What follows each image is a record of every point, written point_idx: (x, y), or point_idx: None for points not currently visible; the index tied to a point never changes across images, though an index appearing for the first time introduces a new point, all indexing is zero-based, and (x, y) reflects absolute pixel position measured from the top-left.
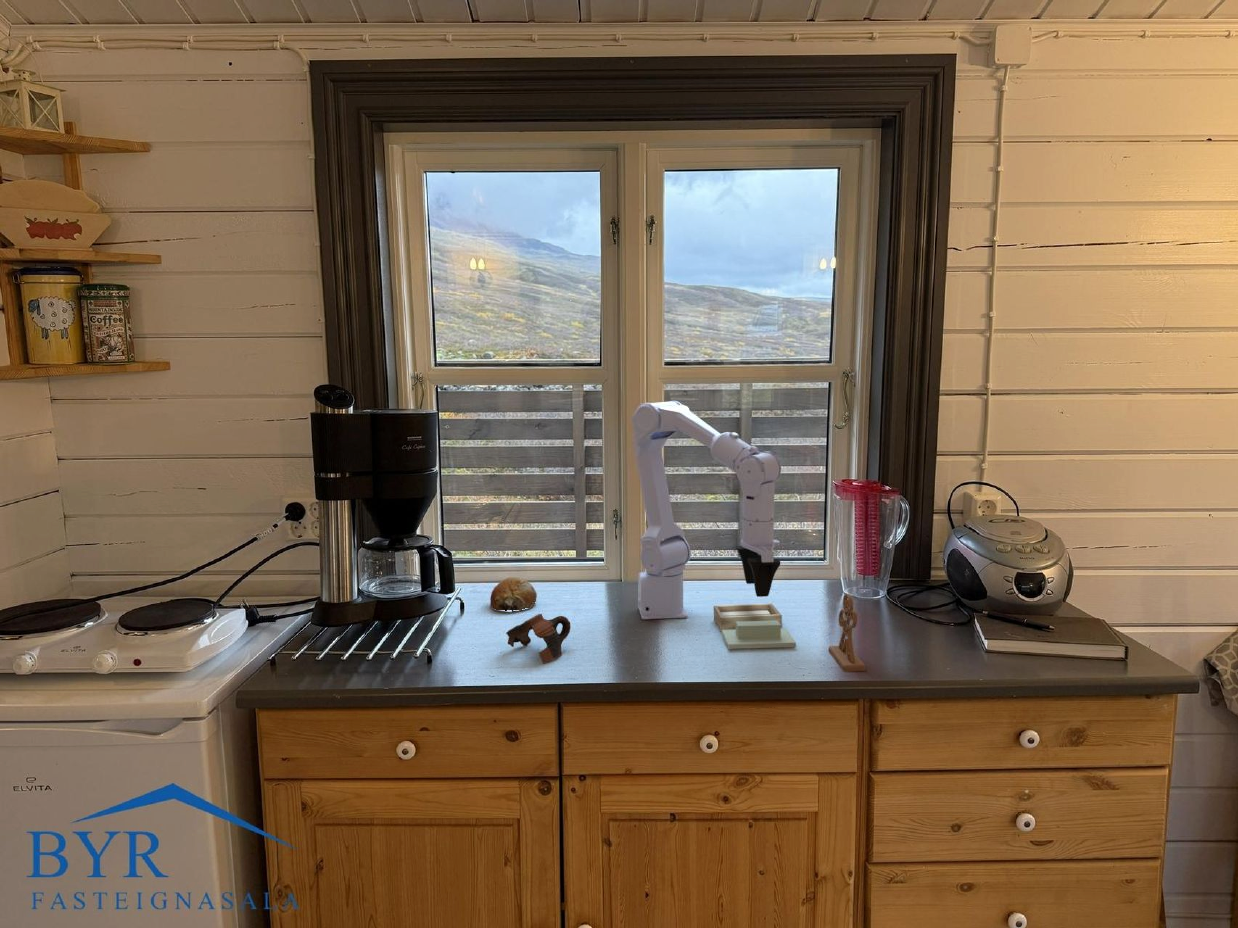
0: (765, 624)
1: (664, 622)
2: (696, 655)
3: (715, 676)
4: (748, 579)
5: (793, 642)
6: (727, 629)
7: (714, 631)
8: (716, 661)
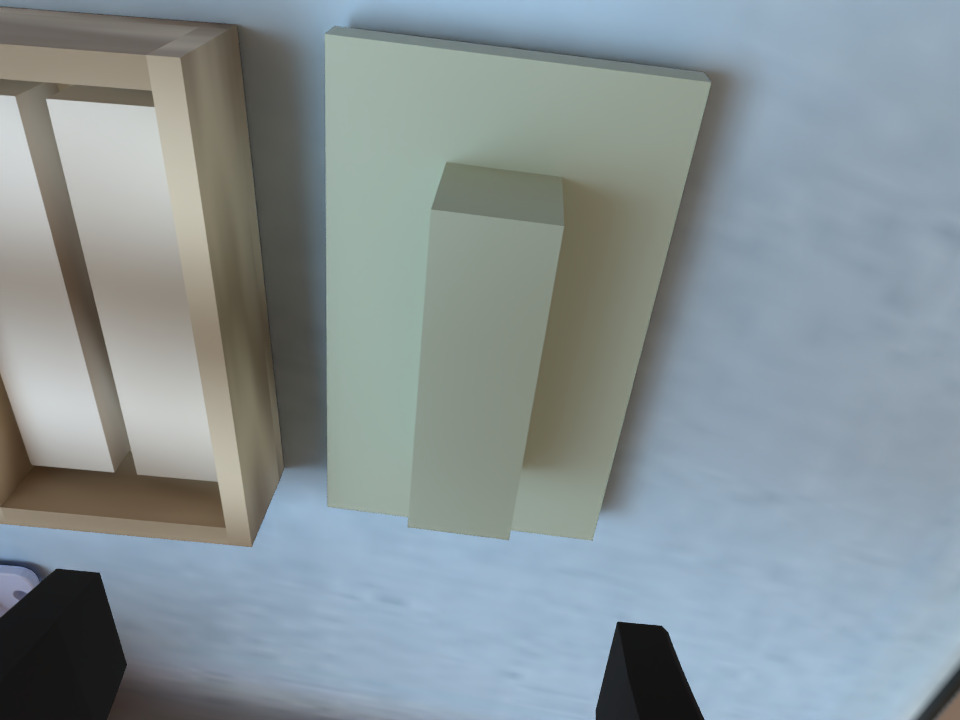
0: (518, 351)
1: None
2: None
3: (904, 644)
4: (94, 704)
5: (702, 106)
6: (275, 447)
7: None
8: (722, 596)
